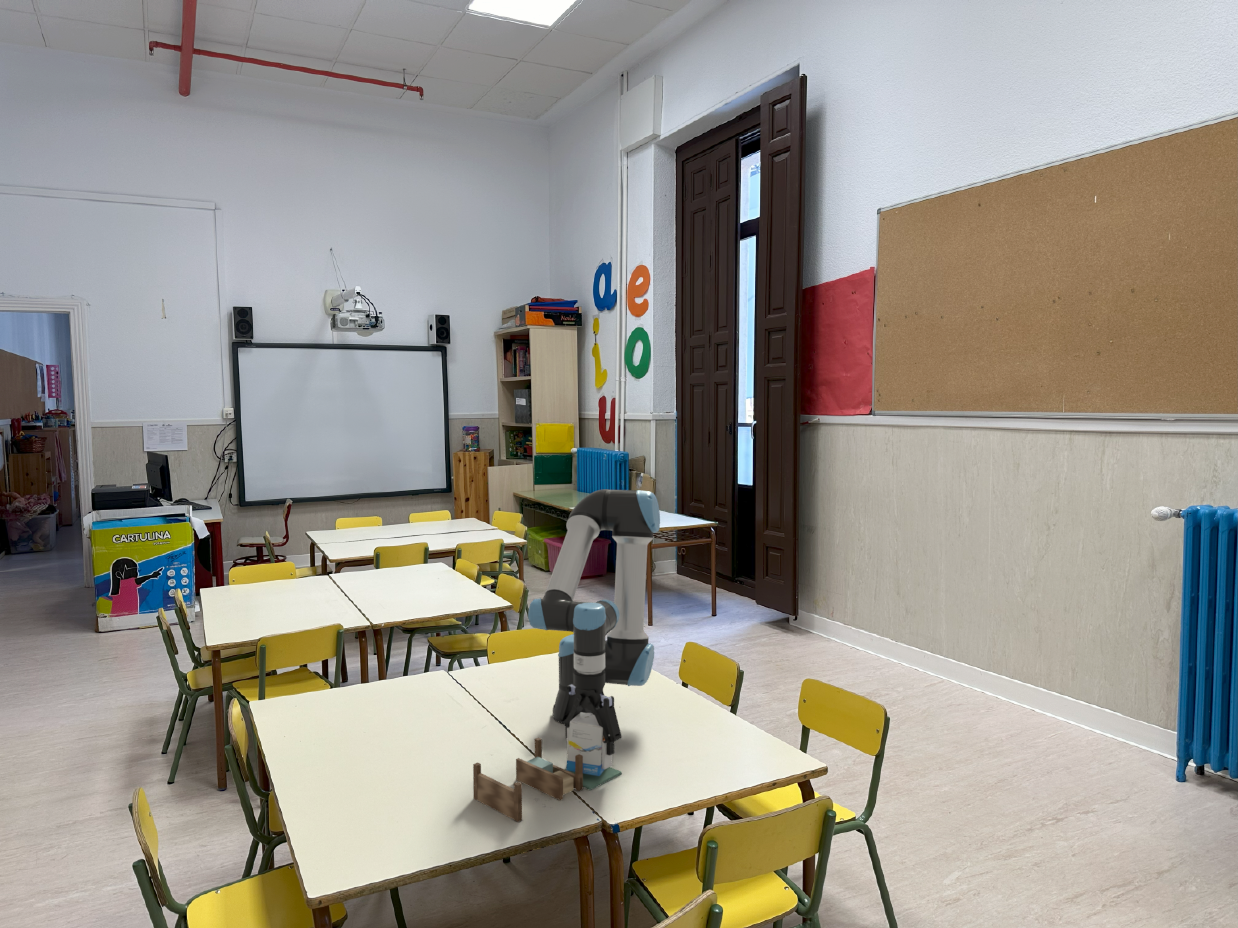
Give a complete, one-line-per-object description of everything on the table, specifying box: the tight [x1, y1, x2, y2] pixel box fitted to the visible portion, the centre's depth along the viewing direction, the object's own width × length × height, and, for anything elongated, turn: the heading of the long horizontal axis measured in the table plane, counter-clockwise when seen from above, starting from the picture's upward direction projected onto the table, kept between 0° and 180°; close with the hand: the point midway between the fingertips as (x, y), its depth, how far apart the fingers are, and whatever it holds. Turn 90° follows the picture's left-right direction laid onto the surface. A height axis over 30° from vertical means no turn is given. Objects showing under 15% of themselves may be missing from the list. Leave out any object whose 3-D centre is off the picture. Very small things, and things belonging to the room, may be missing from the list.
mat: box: [564, 766, 623, 791], centre depth 192 cm, size 11×11×1 cm
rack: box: [472, 737, 584, 823], centre depth 182 cm, size 15×20×8 cm
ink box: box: [565, 712, 610, 776], centre depth 191 cm, size 9×8×12 cm
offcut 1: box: [525, 757, 554, 773], centre depth 188 cm, size 5×4×2 cm
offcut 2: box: [553, 771, 574, 796], centre depth 184 cm, size 5×4×3 cm
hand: (589, 759), depth 192 cm, fingers closed on ink box, 11 cm apart
